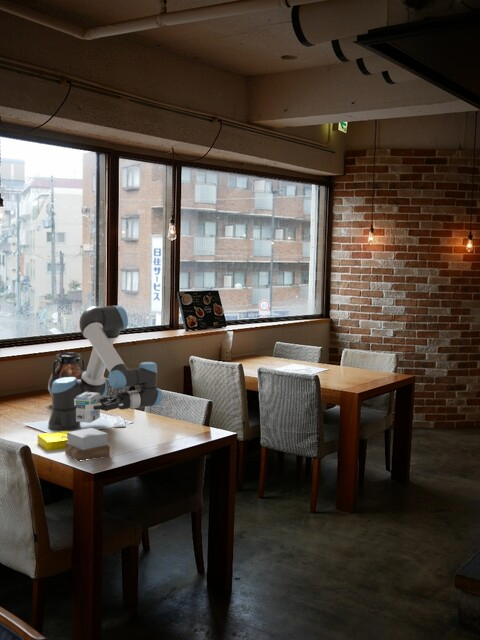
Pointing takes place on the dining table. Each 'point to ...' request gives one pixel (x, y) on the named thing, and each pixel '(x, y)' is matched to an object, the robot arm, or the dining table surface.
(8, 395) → the dining table surface
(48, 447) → the element tile
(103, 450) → the tower base
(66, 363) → the amphora vase
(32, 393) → the dining table surface
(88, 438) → the tower top
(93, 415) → the light bulb box
